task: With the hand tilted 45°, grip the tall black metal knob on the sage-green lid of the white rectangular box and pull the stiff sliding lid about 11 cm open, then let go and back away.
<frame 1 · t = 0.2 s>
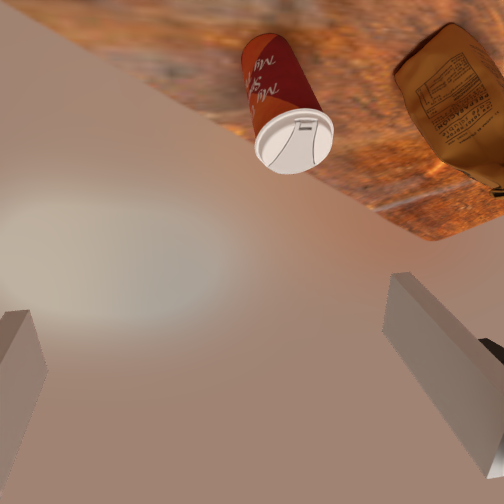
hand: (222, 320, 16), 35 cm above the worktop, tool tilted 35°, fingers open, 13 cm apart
coffee package: (437, 69, 53), on the worktop
paper cup: (265, 56, 46), on the worktop
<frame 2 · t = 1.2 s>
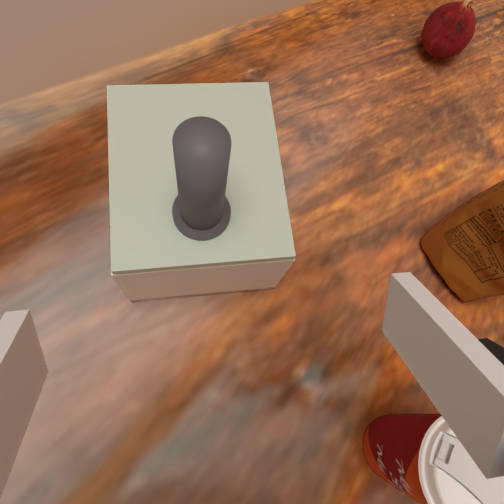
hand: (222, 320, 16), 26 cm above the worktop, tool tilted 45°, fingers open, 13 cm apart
lid: (196, 134, 29), point 16 cm above the worktop, slide at 0.0 cm
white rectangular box: (198, 220, 44), on the worktop
coffee package: (474, 252, 47), on the worktop
onion: (431, 55, 55), on the worktop
paper cup: (391, 446, 39), on the worktop
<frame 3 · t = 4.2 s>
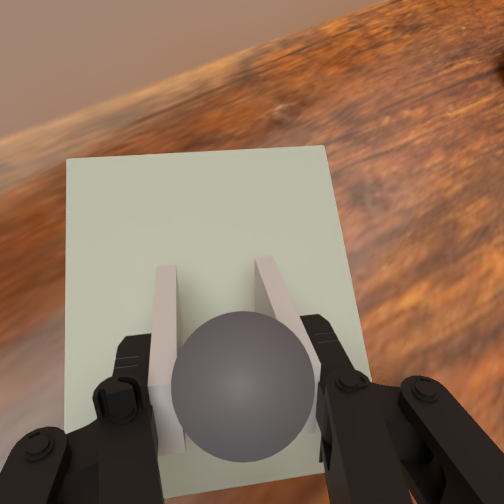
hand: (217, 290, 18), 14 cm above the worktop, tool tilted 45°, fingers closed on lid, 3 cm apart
lid: (218, 273, 16), point 16 cm above the worktop, slide at 0.0 cm, touching gripper
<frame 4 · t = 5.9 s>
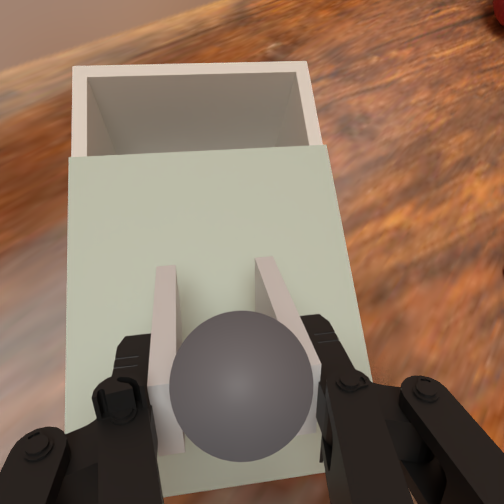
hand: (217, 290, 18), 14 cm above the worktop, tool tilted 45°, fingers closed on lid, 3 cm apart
lid: (219, 272, 16), point 16 cm above the worktop, slide at 6.7 cm, touching gripper
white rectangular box: (205, 243, 32), on the worktop
onion: (501, 26, 43), on the worktop
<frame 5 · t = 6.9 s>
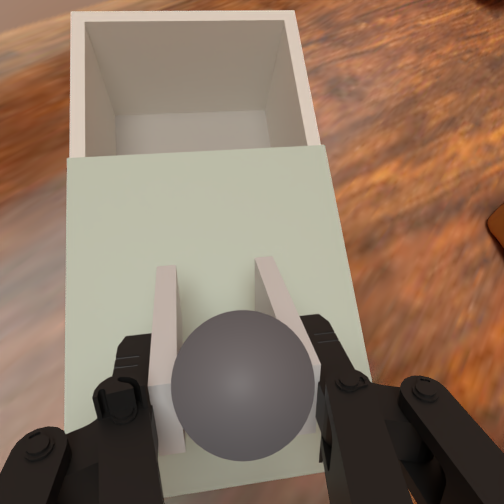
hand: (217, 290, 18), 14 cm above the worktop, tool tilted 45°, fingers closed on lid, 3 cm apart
lid: (218, 272, 16), point 16 cm above the worktop, slide at 10.8 cm, touching gripper
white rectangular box: (199, 195, 34), on the worktop
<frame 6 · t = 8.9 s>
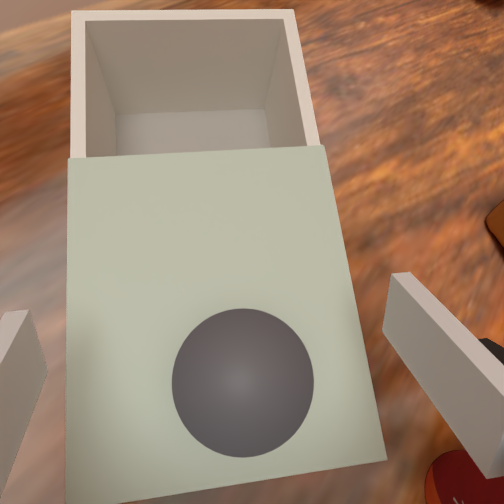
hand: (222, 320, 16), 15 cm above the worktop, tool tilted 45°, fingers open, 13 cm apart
lid: (218, 272, 16), point 16 cm above the worktop, slide at 11.0 cm
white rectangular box: (199, 193, 34), on the worktop
paper cup: (462, 494, 29), on the worktop
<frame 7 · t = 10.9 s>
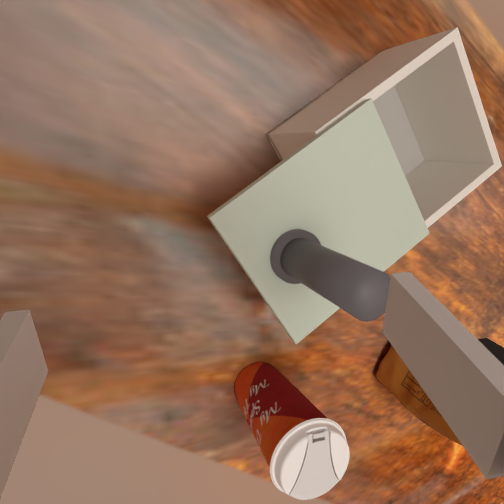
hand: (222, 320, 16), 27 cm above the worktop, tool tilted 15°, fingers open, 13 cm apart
lid: (366, 237, 31), point 16 cm above the worktop, slide at 11.0 cm
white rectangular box: (353, 149, 46), on the worktop
coffee package: (409, 363, 58), on the worktop
paper cup: (255, 383, 49), on the worktop
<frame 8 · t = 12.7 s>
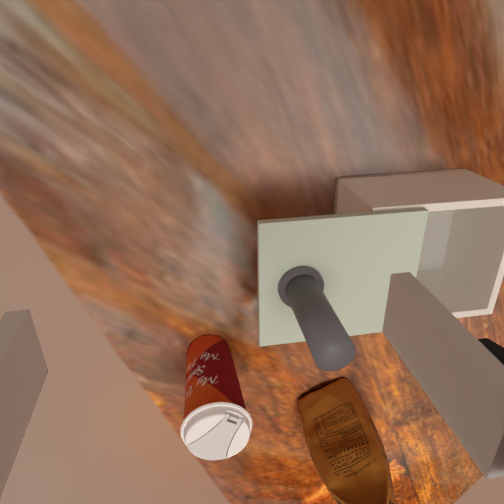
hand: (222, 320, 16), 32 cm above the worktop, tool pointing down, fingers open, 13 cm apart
lid: (358, 308, 37), point 16 cm above the worktop, slide at 11.0 cm
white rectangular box: (393, 227, 52), on the worktop
coffee package: (329, 407, 65), on the worktop
paper cup: (208, 350, 56), on the worktop
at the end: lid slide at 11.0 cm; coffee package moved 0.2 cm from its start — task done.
